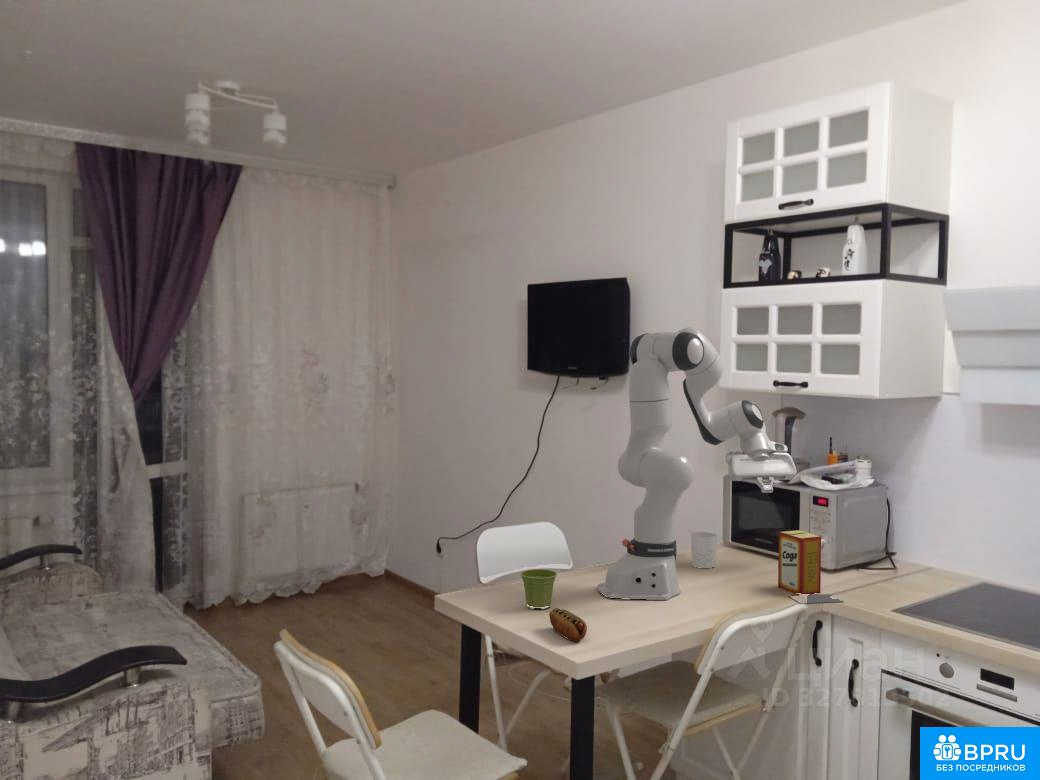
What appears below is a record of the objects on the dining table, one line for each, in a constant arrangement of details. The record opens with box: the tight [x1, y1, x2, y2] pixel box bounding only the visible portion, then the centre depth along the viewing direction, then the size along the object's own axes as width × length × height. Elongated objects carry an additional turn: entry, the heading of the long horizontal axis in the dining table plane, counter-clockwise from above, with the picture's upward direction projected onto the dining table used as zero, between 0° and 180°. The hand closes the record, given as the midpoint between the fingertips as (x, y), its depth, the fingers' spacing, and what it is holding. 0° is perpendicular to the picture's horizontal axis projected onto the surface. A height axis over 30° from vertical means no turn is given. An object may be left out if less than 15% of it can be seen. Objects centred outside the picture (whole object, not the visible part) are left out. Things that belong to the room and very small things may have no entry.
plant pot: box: [520, 568, 558, 607], centre depth 213 cm, size 9×9×9 cm
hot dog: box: [548, 607, 588, 642], centre depth 191 cm, size 5×13×5 cm, turn 24°
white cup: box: [690, 531, 718, 569], centre depth 257 cm, size 8×8×10 cm
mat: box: [806, 593, 844, 605], centre depth 221 cm, size 12×7×1 cm, turn 99°
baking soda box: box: [777, 529, 822, 595], centre depth 229 cm, size 10×6×16 cm
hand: (767, 492), depth 247 cm, fingers closed
